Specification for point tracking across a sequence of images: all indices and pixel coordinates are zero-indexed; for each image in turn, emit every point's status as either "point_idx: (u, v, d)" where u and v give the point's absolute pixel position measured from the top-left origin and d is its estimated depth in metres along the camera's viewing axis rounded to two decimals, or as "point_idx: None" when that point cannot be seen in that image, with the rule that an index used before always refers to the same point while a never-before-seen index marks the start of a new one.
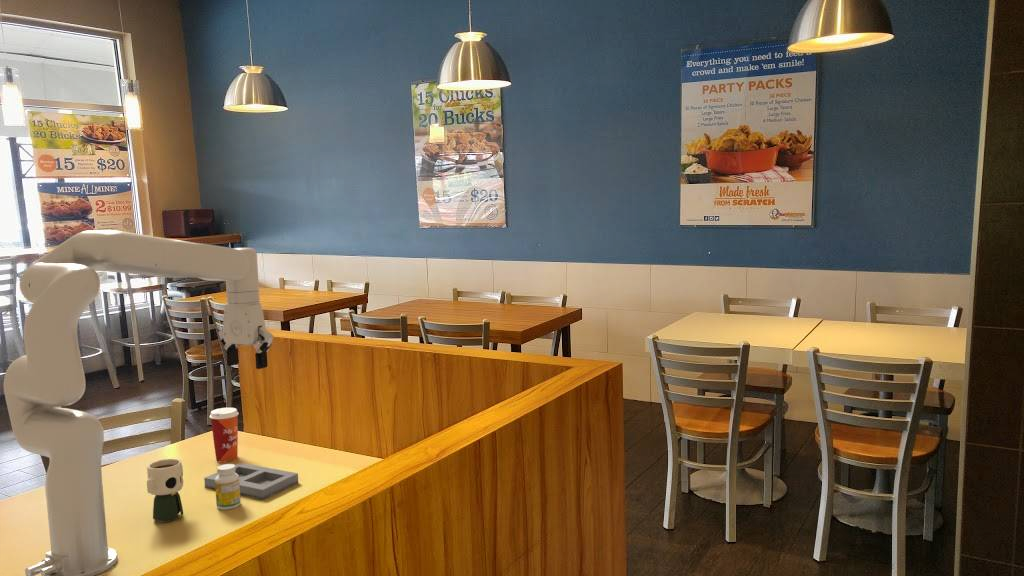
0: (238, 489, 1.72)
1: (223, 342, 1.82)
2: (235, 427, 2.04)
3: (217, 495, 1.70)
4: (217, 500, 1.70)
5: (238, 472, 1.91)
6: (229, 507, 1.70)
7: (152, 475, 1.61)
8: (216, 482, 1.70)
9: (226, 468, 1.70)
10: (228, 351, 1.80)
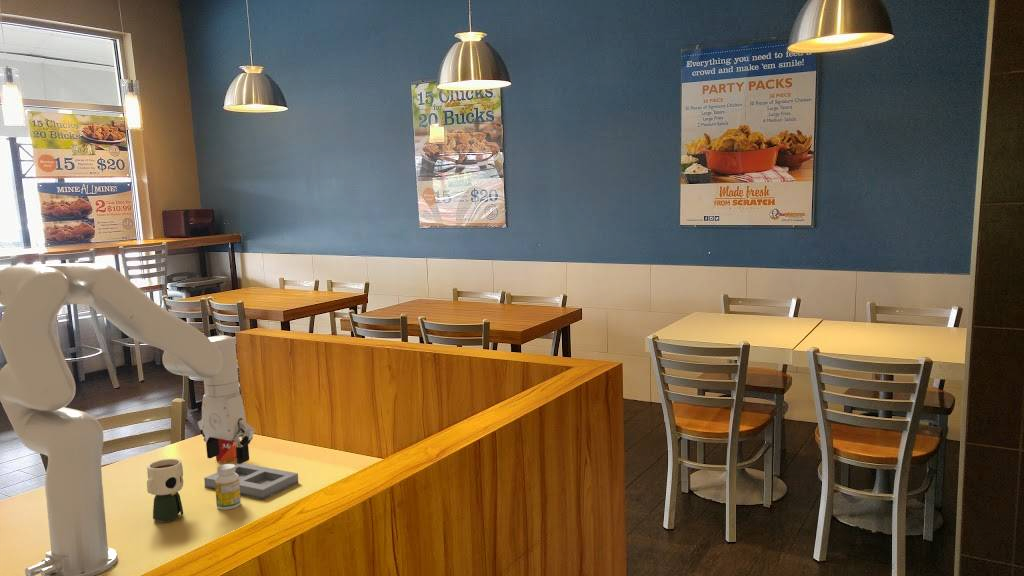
0: (238, 489, 1.72)
1: (202, 433, 1.73)
2: None
3: (217, 495, 1.70)
4: (217, 500, 1.70)
5: (238, 472, 1.91)
6: (229, 507, 1.70)
7: (152, 475, 1.61)
8: (216, 482, 1.70)
9: (226, 468, 1.70)
10: (208, 443, 1.72)
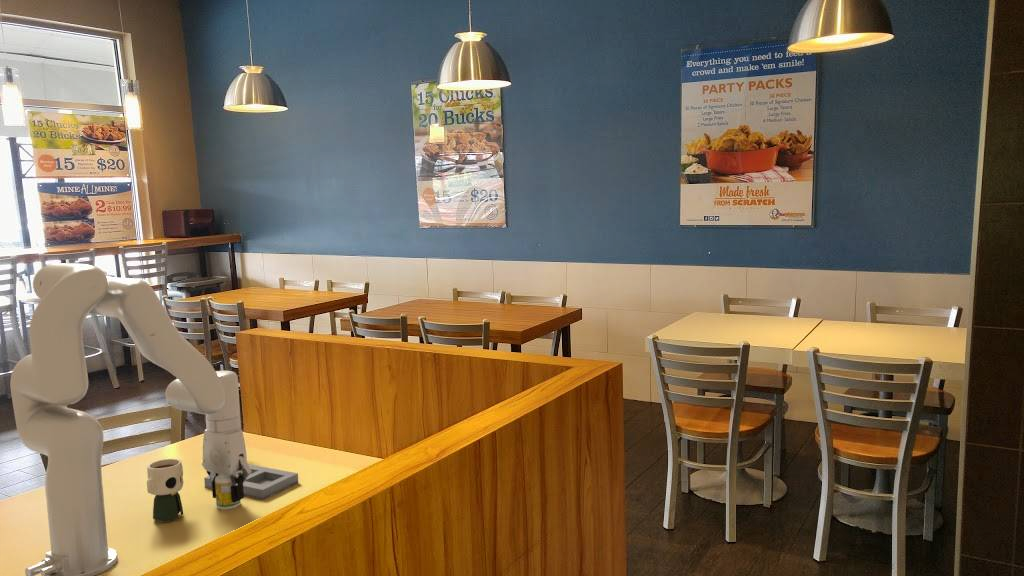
0: None
1: (208, 473, 1.73)
2: None
3: (217, 495, 1.70)
4: (217, 500, 1.70)
5: None
6: (229, 507, 1.70)
7: (152, 475, 1.61)
8: (216, 482, 1.70)
9: None
10: (214, 483, 1.72)
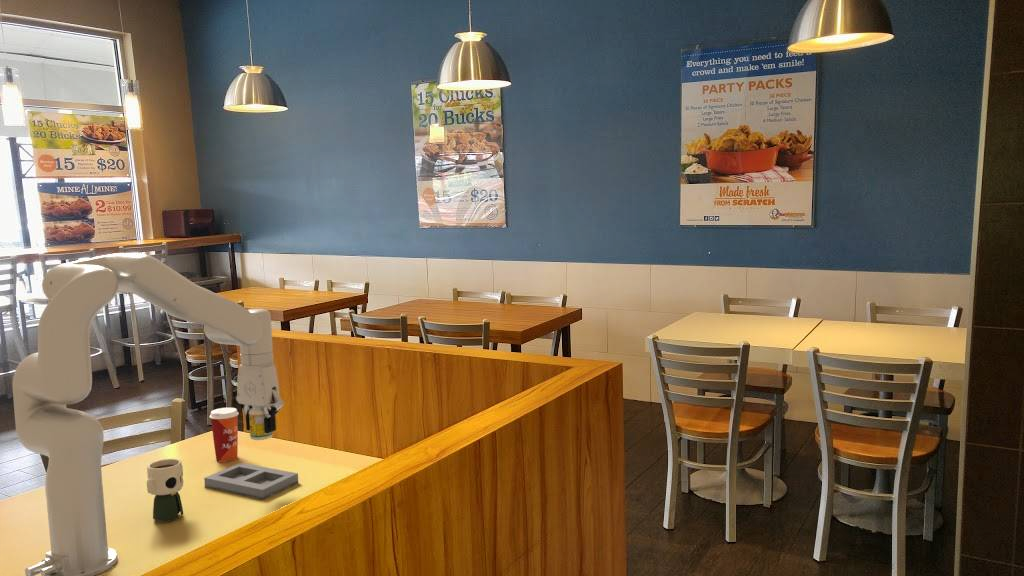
0: None
1: (242, 406, 1.82)
2: (235, 427, 2.04)
3: (251, 426, 1.79)
4: (251, 431, 1.80)
5: (238, 472, 1.91)
6: (262, 437, 1.79)
7: (152, 475, 1.61)
8: (250, 414, 1.79)
9: None
10: (247, 416, 1.81)
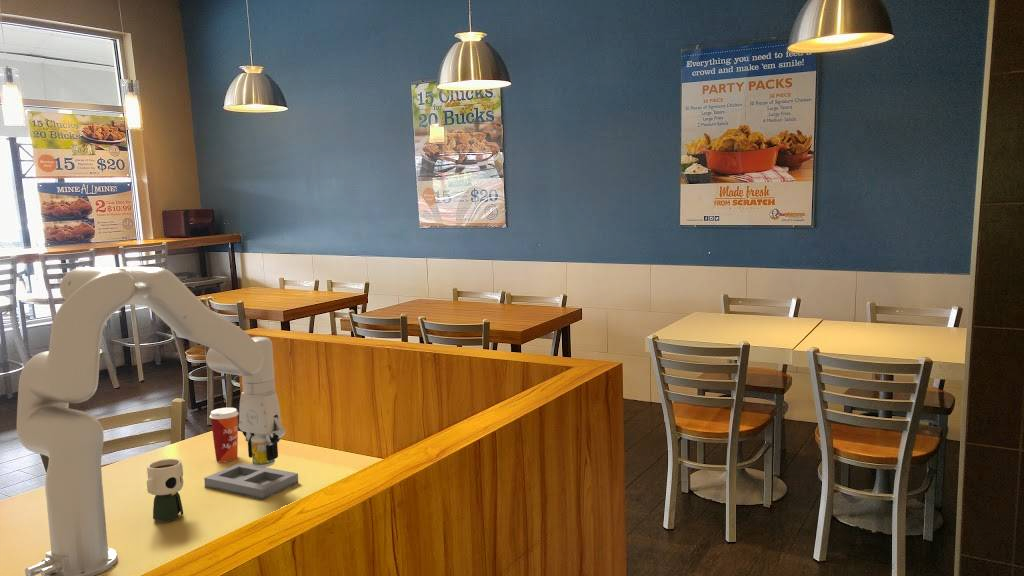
0: None
1: (244, 433, 1.83)
2: (235, 427, 2.04)
3: (253, 454, 1.80)
4: (253, 458, 1.80)
5: (238, 472, 1.91)
6: (265, 465, 1.80)
7: (152, 475, 1.61)
8: (252, 441, 1.80)
9: None
10: (249, 443, 1.82)
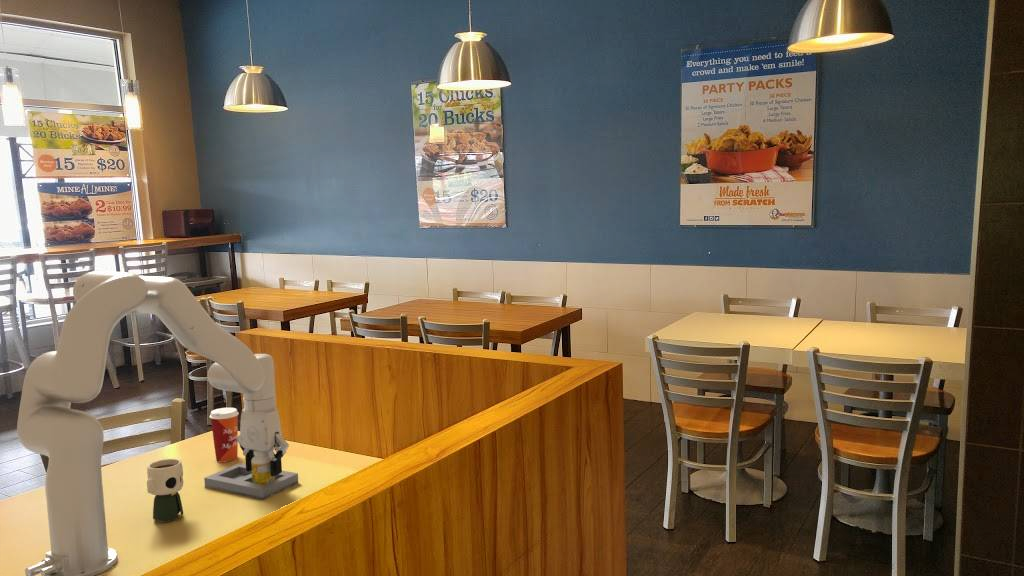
0: None
1: (242, 447, 1.84)
2: (235, 427, 2.04)
3: (253, 475, 1.81)
4: (253, 480, 1.81)
5: (238, 472, 1.91)
6: None
7: (152, 475, 1.61)
8: (253, 463, 1.80)
9: None
10: (247, 457, 1.83)
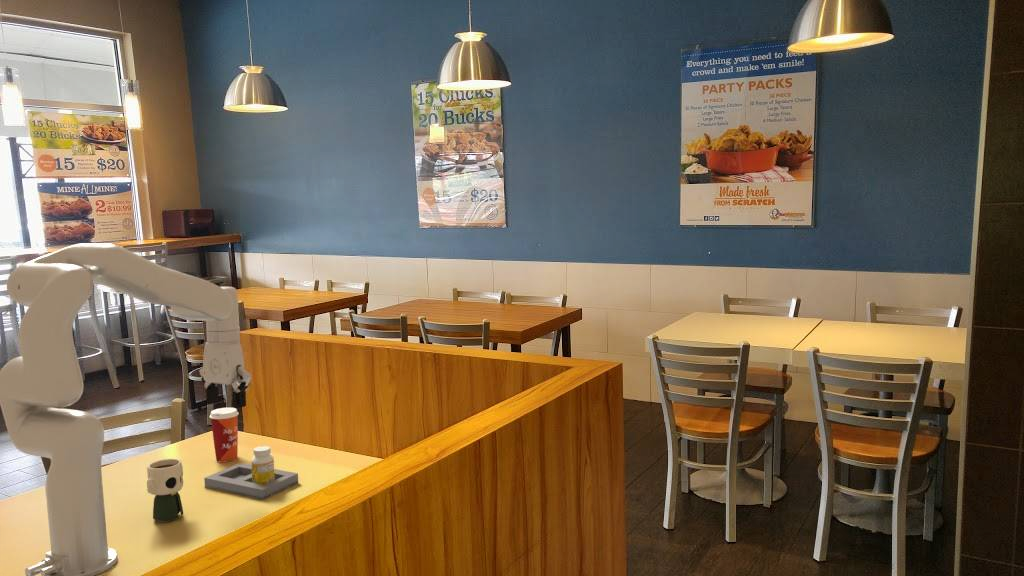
0: (273, 470, 1.82)
1: (203, 380, 1.82)
2: (235, 427, 2.04)
3: (253, 475, 1.81)
4: (253, 480, 1.81)
5: (238, 472, 1.91)
6: None
7: (152, 475, 1.61)
8: (252, 463, 1.80)
9: (262, 449, 1.81)
10: (208, 389, 1.81)
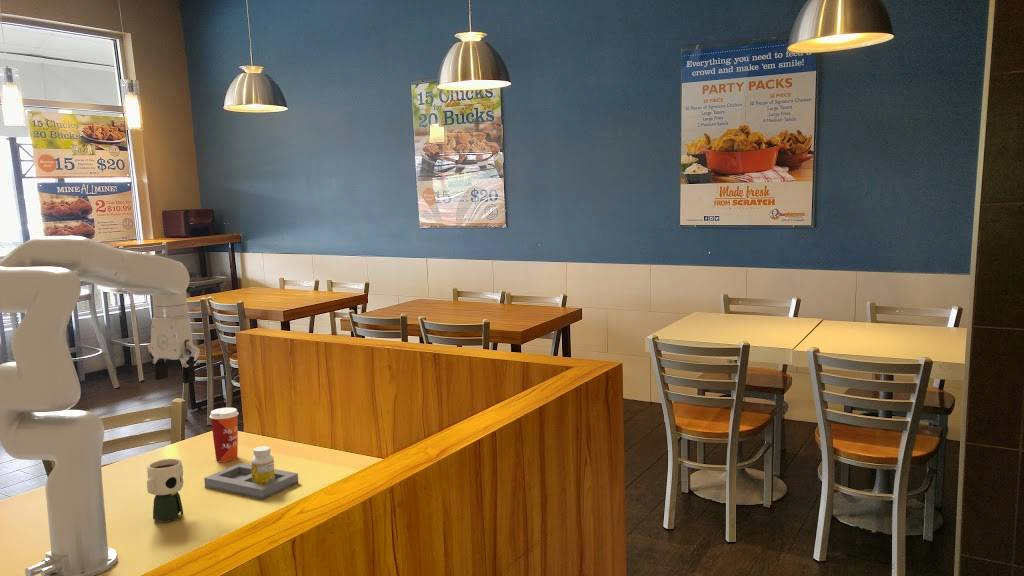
0: (273, 470, 1.82)
1: (152, 356, 1.81)
2: (235, 427, 2.04)
3: (253, 475, 1.81)
4: (253, 480, 1.81)
5: (238, 472, 1.91)
6: None
7: (152, 474, 1.61)
8: (252, 463, 1.80)
9: (262, 450, 1.81)
10: (156, 365, 1.79)
